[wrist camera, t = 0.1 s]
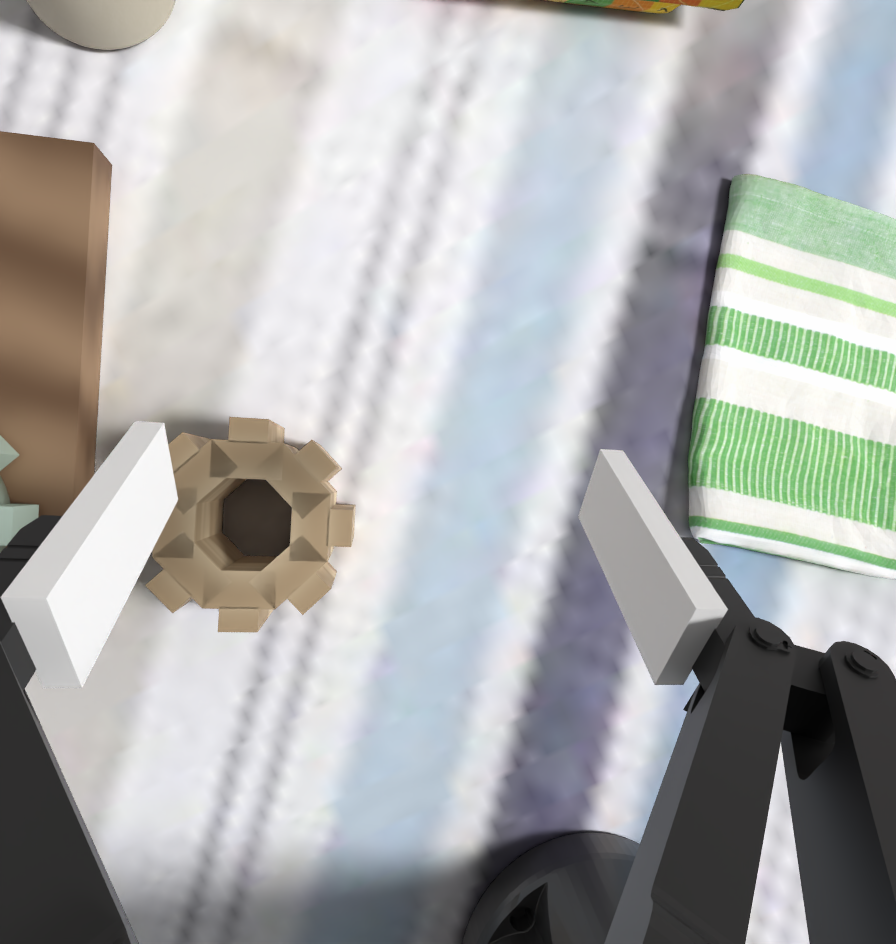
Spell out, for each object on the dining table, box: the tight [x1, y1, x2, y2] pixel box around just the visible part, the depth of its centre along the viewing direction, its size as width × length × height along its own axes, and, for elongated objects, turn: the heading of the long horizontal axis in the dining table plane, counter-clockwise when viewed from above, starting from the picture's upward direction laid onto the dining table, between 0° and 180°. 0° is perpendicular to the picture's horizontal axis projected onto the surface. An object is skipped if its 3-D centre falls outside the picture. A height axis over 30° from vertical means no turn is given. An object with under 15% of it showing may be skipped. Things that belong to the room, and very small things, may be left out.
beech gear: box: [145, 417, 355, 632], centre depth 29 cm, size 10×10×5 cm
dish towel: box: [688, 174, 896, 580], centre depth 35 cm, size 18×23×3 cm
